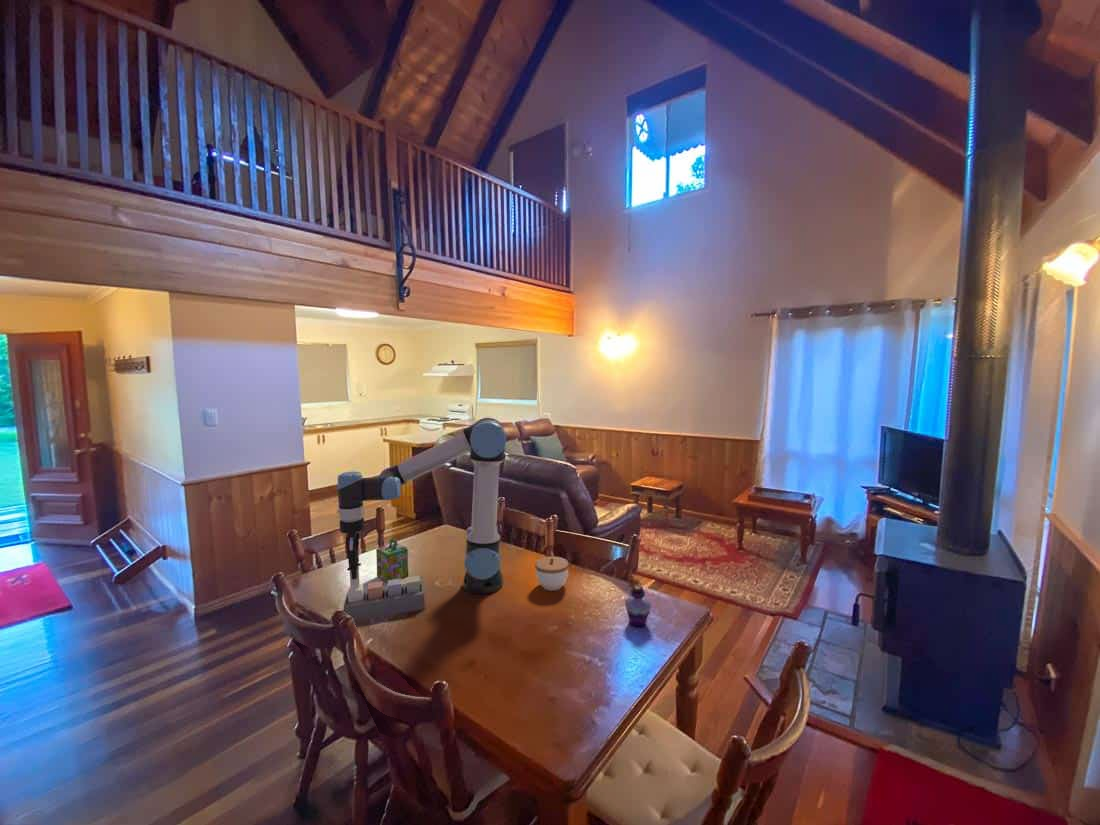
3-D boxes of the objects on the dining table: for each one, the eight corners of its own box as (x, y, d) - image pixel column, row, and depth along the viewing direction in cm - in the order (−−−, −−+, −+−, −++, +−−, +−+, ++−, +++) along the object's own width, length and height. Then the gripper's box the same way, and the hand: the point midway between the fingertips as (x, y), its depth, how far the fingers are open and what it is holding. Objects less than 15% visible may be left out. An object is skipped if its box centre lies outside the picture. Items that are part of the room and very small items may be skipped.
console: (423, 595, 167) (422, 581, 166) (424, 609, 157) (424, 593, 157) (347, 608, 159) (346, 592, 158) (344, 622, 149) (343, 606, 149)
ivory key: (363, 599, 157) (363, 584, 157) (363, 605, 153) (362, 589, 153) (350, 601, 156) (349, 586, 156) (348, 607, 152) (347, 592, 151)
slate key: (401, 593, 161) (400, 578, 161) (401, 599, 157) (401, 583, 157) (388, 595, 160) (387, 580, 159) (388, 601, 156) (387, 586, 155)
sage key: (419, 590, 163) (419, 575, 163) (420, 595, 159) (419, 581, 159) (407, 592, 162) (406, 577, 161) (407, 598, 158) (406, 583, 157)
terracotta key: (383, 596, 159) (382, 581, 159) (382, 602, 155) (381, 586, 155) (369, 598, 158) (368, 583, 158) (368, 604, 154) (367, 588, 153)
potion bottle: (641, 613, 152) (641, 579, 151) (656, 627, 144) (657, 590, 143) (619, 619, 149) (619, 583, 148) (633, 633, 141) (633, 595, 140)
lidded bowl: (569, 579, 178) (569, 551, 177) (567, 594, 166) (567, 565, 165) (537, 578, 179) (537, 550, 178) (533, 593, 167) (532, 564, 166)
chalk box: (376, 577, 183) (374, 541, 181) (397, 569, 189) (395, 534, 188) (388, 584, 176) (386, 546, 175) (409, 575, 183) (408, 540, 182)
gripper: (341, 514, 157) (345, 580, 159) (336, 526, 145) (340, 597, 147) (365, 511, 159) (368, 576, 161) (362, 523, 147) (365, 593, 149)
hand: (355, 586), depth 154 cm, fingers closed
